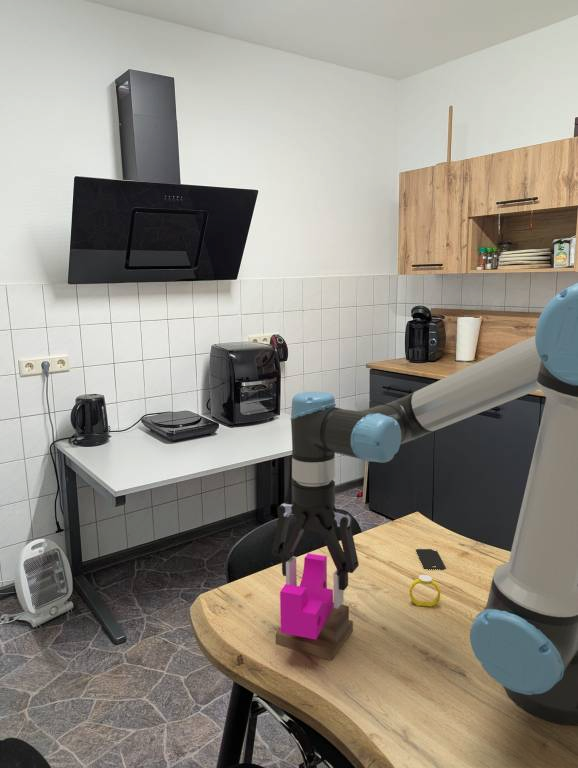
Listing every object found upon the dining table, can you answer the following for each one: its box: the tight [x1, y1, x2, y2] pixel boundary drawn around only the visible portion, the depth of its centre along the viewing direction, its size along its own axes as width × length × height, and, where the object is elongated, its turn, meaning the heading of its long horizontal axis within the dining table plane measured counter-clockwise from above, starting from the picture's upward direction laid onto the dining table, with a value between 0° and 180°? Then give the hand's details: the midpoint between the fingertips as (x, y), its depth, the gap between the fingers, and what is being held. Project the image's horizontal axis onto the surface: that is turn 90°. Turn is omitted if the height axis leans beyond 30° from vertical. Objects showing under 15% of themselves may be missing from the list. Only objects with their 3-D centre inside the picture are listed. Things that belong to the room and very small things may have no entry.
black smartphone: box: [415, 548, 447, 571], centre depth 138 cm, size 5×1×10 cm
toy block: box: [279, 552, 334, 639], centre depth 104 cm, size 15×6×8 cm, turn 160°
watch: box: [409, 574, 441, 608], centre depth 118 cm, size 6×3×6 cm, turn 80°
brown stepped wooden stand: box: [275, 601, 354, 661], centre depth 107 cm, size 11×10×6 cm
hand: (314, 598), depth 107 cm, fingers open, 9 cm apart
